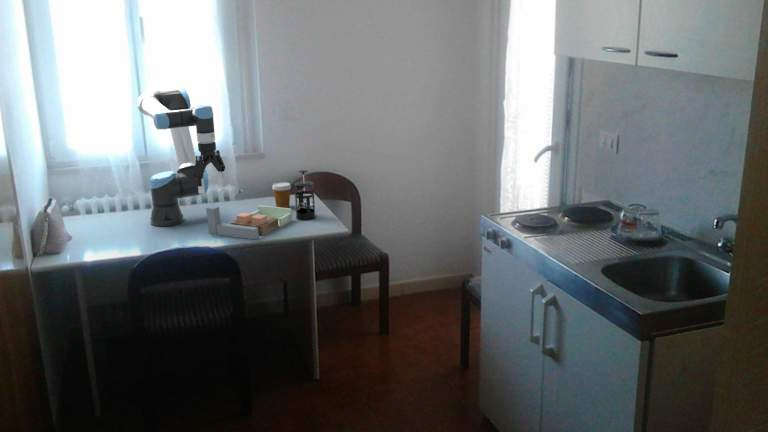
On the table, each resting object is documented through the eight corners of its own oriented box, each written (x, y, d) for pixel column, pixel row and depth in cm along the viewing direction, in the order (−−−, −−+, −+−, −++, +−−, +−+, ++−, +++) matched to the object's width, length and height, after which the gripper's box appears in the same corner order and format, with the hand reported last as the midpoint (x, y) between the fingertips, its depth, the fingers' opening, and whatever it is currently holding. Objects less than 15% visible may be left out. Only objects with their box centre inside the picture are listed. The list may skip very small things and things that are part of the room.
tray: (248, 223, 335) (247, 210, 333) (259, 217, 344) (259, 205, 342) (281, 227, 328) (280, 214, 326) (292, 220, 337) (291, 208, 335)
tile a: (236, 222, 323) (236, 215, 323) (243, 218, 328) (242, 212, 327) (246, 223, 322) (245, 216, 321) (252, 219, 326) (251, 213, 325)
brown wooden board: (231, 231, 324) (230, 222, 322) (247, 223, 335) (246, 214, 334) (263, 235, 317) (262, 226, 316) (278, 226, 328) (278, 218, 327)
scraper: (208, 233, 321) (206, 208, 317) (214, 231, 324) (211, 205, 321) (254, 239, 312) (252, 213, 308) (259, 236, 315) (257, 210, 312)
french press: (319, 219, 339) (316, 171, 332) (300, 222, 335) (297, 174, 328) (310, 212, 349) (307, 166, 342) (291, 215, 345) (289, 169, 338)
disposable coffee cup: (291, 210, 354) (289, 186, 350) (271, 210, 354) (270, 187, 351) (293, 204, 363) (292, 181, 360) (274, 205, 363) (273, 182, 360)
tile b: (251, 223, 320) (251, 217, 319) (257, 220, 325) (257, 214, 324) (261, 224, 318) (260, 218, 318) (267, 221, 323) (266, 215, 322)
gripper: (195, 147, 297) (200, 197, 303) (230, 137, 319) (234, 183, 325) (181, 146, 300) (186, 195, 306) (216, 136, 322) (220, 182, 328)
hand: (211, 189), depth 316 cm, fingers open, 13 cm apart
